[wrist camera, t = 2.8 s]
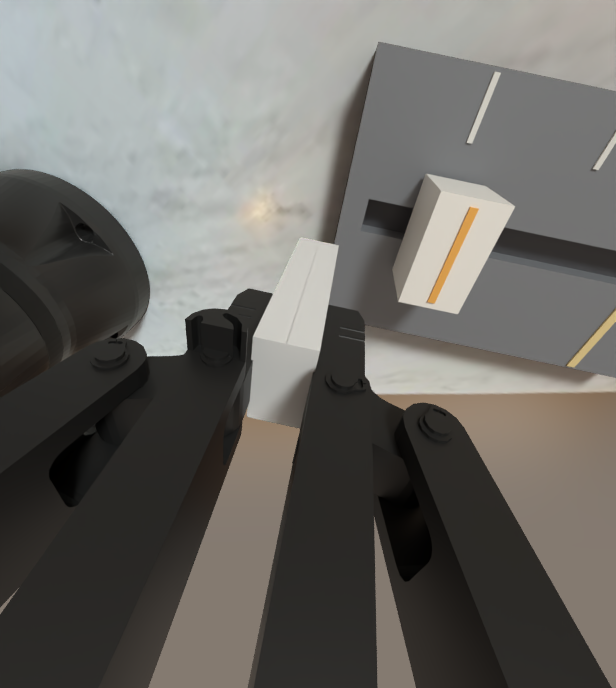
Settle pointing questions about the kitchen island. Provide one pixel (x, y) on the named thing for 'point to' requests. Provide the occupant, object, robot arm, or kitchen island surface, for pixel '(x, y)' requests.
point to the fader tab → (447, 242)
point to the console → (507, 181)
